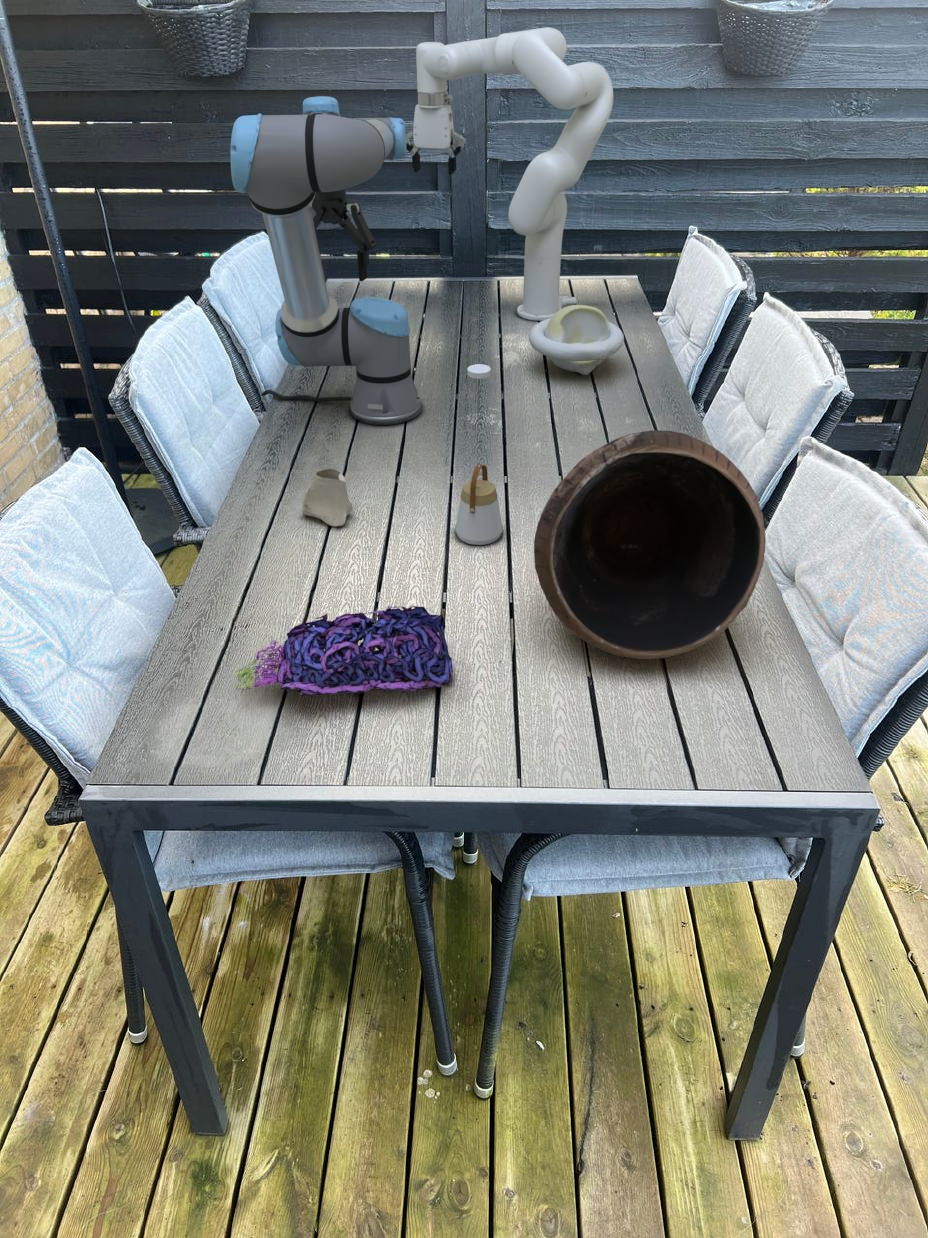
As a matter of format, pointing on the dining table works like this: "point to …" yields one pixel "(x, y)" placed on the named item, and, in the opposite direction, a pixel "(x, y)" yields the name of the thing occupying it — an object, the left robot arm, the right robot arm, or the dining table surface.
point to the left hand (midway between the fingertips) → (336, 276)
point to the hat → (576, 338)
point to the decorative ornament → (358, 654)
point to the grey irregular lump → (327, 498)
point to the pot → (650, 545)
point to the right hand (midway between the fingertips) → (434, 172)
